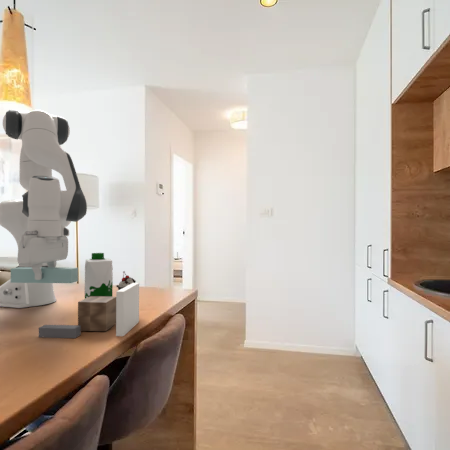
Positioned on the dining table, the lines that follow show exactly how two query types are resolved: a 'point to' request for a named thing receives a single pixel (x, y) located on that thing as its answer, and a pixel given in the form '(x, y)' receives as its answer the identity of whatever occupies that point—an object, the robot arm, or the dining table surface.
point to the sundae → (125, 282)
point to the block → (97, 313)
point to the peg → (49, 275)
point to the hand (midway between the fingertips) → (44, 278)
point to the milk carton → (98, 276)
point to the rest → (60, 331)
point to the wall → (127, 308)
